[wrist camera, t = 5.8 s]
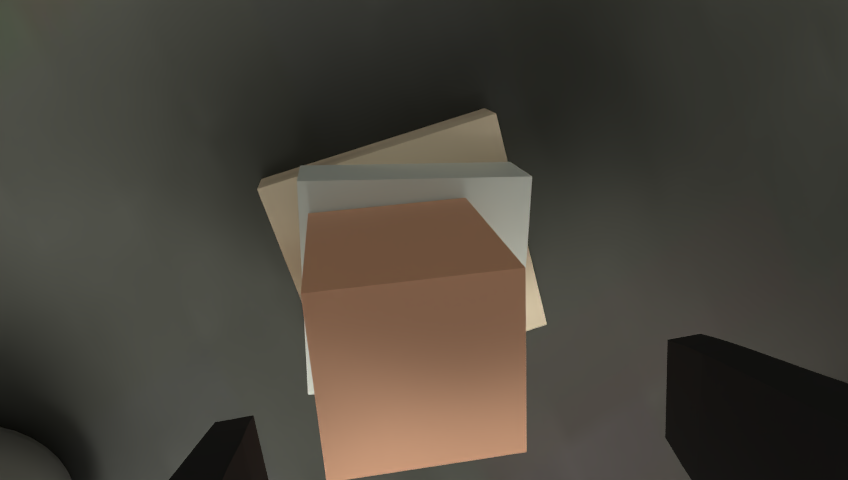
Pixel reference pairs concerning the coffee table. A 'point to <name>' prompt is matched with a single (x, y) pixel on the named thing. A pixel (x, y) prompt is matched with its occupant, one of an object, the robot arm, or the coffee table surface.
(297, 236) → the bottom slab
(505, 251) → the block
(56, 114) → the coffee table surface
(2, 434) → the plastic bottle
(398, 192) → the top slab
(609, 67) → the coffee table surface
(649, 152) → the coffee table surface
